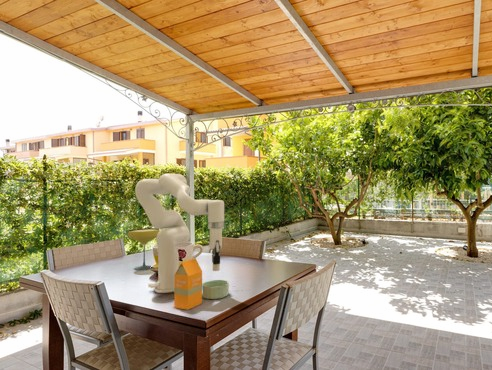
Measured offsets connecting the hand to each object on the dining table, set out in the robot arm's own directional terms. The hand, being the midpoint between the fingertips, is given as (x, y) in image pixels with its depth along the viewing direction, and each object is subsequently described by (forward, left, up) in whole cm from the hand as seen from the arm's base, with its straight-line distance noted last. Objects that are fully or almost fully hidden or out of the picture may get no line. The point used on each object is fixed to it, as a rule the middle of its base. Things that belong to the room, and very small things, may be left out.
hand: (216, 262), depth 154 cm
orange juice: (-13, -8, -16) cm, 22 cm away
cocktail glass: (-36, +77, -16) cm, 86 cm away
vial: (0, 0, -4) cm, 4 cm away
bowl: (0, +1, -16) cm, 16 cm away
